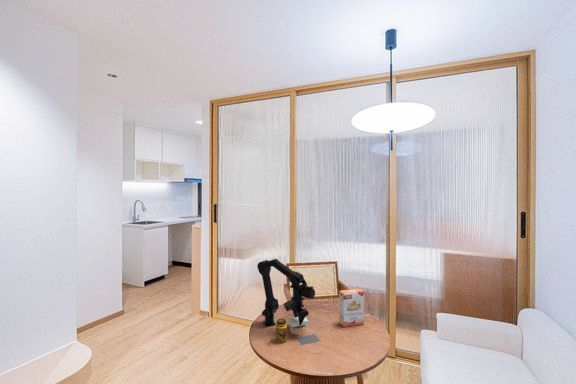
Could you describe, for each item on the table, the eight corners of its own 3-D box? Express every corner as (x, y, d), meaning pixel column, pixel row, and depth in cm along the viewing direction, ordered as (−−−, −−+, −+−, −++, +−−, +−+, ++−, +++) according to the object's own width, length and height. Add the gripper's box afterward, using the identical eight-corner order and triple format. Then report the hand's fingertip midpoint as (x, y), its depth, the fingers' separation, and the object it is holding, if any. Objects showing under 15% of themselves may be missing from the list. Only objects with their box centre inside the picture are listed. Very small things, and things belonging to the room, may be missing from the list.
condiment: (283, 346, 153) (283, 324, 153) (270, 342, 157) (270, 321, 157) (290, 340, 159) (290, 318, 159) (277, 336, 163) (277, 315, 163)
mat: (295, 339, 160) (295, 337, 160) (314, 335, 164) (314, 334, 164) (301, 346, 152) (301, 345, 152) (320, 342, 156) (320, 340, 156)
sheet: (287, 321, 170) (287, 318, 170) (304, 319, 173) (303, 315, 173) (291, 327, 163) (291, 323, 163) (308, 324, 166) (308, 320, 166)
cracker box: (343, 328, 172) (343, 293, 172) (339, 323, 178) (339, 290, 178) (364, 324, 176) (364, 291, 176) (359, 320, 182) (359, 287, 182)
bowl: (288, 330, 171) (288, 323, 171) (302, 327, 174) (302, 320, 174) (293, 337, 162) (293, 329, 162) (308, 334, 165) (308, 327, 165)
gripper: (279, 292, 174) (280, 317, 174) (290, 303, 156) (290, 331, 156) (296, 290, 178) (297, 315, 178) (308, 300, 160) (309, 328, 160)
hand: (298, 322), depth 168 cm, fingers closed on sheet, 7 cm apart
